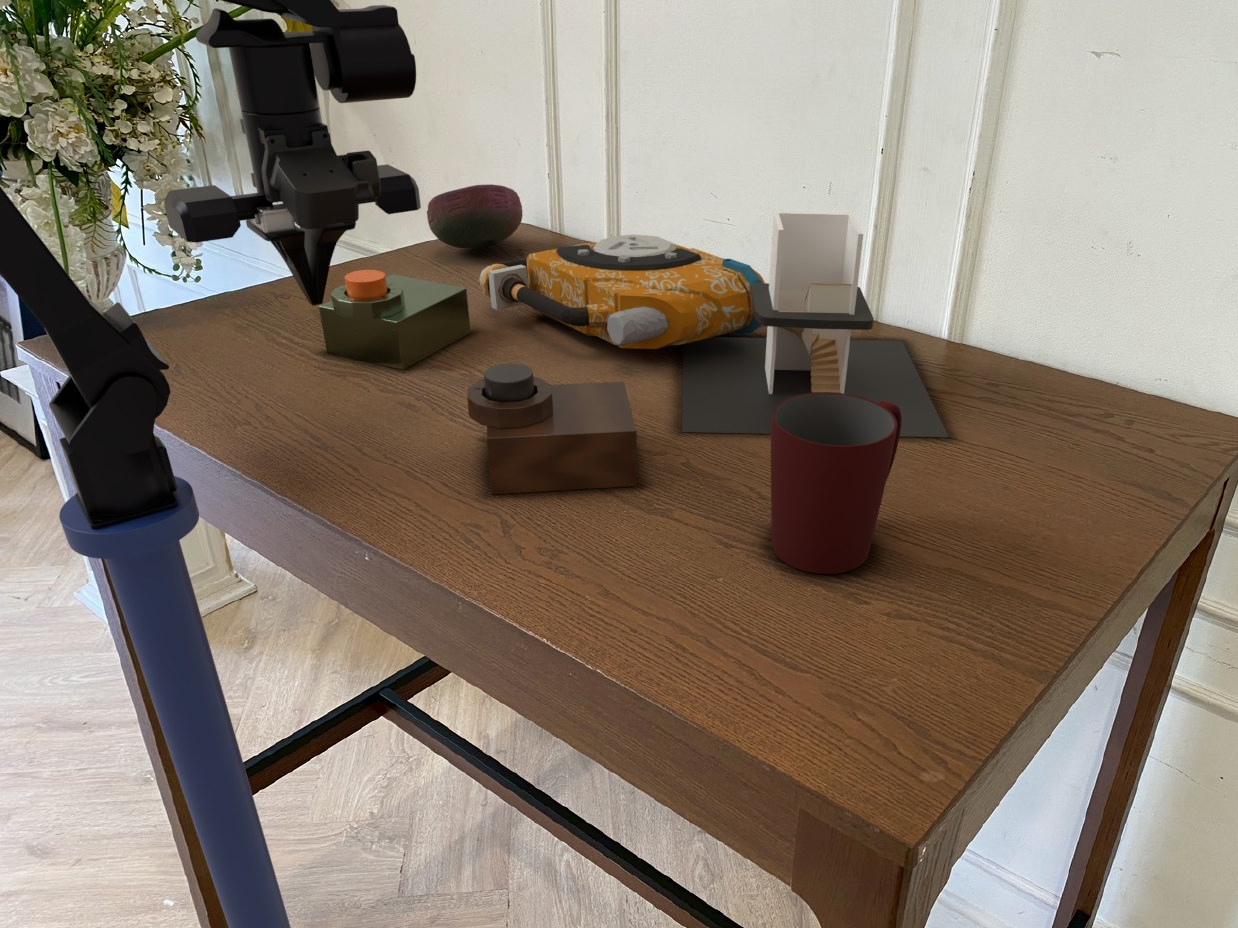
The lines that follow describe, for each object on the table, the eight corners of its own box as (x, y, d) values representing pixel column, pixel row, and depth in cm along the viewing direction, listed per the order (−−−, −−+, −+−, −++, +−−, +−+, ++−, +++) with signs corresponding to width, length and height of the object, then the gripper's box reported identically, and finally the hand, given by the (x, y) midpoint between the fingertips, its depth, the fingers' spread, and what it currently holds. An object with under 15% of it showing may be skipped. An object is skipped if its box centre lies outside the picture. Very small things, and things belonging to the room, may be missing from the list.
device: (607, 307, 96) (459, 241, 116) (611, 387, 100) (467, 310, 120) (781, 265, 108) (620, 212, 128) (778, 339, 113) (622, 276, 133)
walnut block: (473, 495, 83) (465, 418, 79) (475, 440, 91) (468, 368, 88) (636, 486, 85) (636, 410, 81) (624, 433, 93) (623, 362, 90)
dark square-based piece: (681, 432, 94) (685, 257, 85) (683, 336, 115) (686, 188, 106) (949, 437, 94) (979, 264, 86) (902, 341, 115) (922, 194, 106)
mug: (840, 494, 85) (855, 372, 79) (926, 538, 79) (949, 410, 73) (738, 544, 78) (746, 413, 72) (825, 595, 72) (840, 459, 66)
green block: (394, 375, 103) (384, 309, 99) (317, 357, 106) (305, 293, 103) (470, 332, 114) (465, 271, 110) (398, 318, 117) (390, 258, 113)
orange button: (370, 304, 102) (367, 284, 101) (339, 297, 103) (336, 278, 102) (396, 292, 105) (393, 273, 104) (365, 286, 106) (362, 267, 105)
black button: (485, 406, 82) (483, 383, 81) (485, 386, 85) (483, 364, 84) (535, 404, 83) (533, 381, 82) (533, 384, 86) (532, 362, 85)
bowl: (542, 227, 133) (531, 169, 134) (446, 224, 126) (436, 164, 127) (503, 272, 147) (493, 220, 147) (415, 272, 140) (406, 217, 141)
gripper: (180, 138, 67) (231, 357, 76) (439, 114, 77) (459, 310, 86) (139, 112, 75) (189, 314, 83) (380, 93, 85) (404, 275, 93)
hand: (315, 303), depth 86 cm, fingers closed
